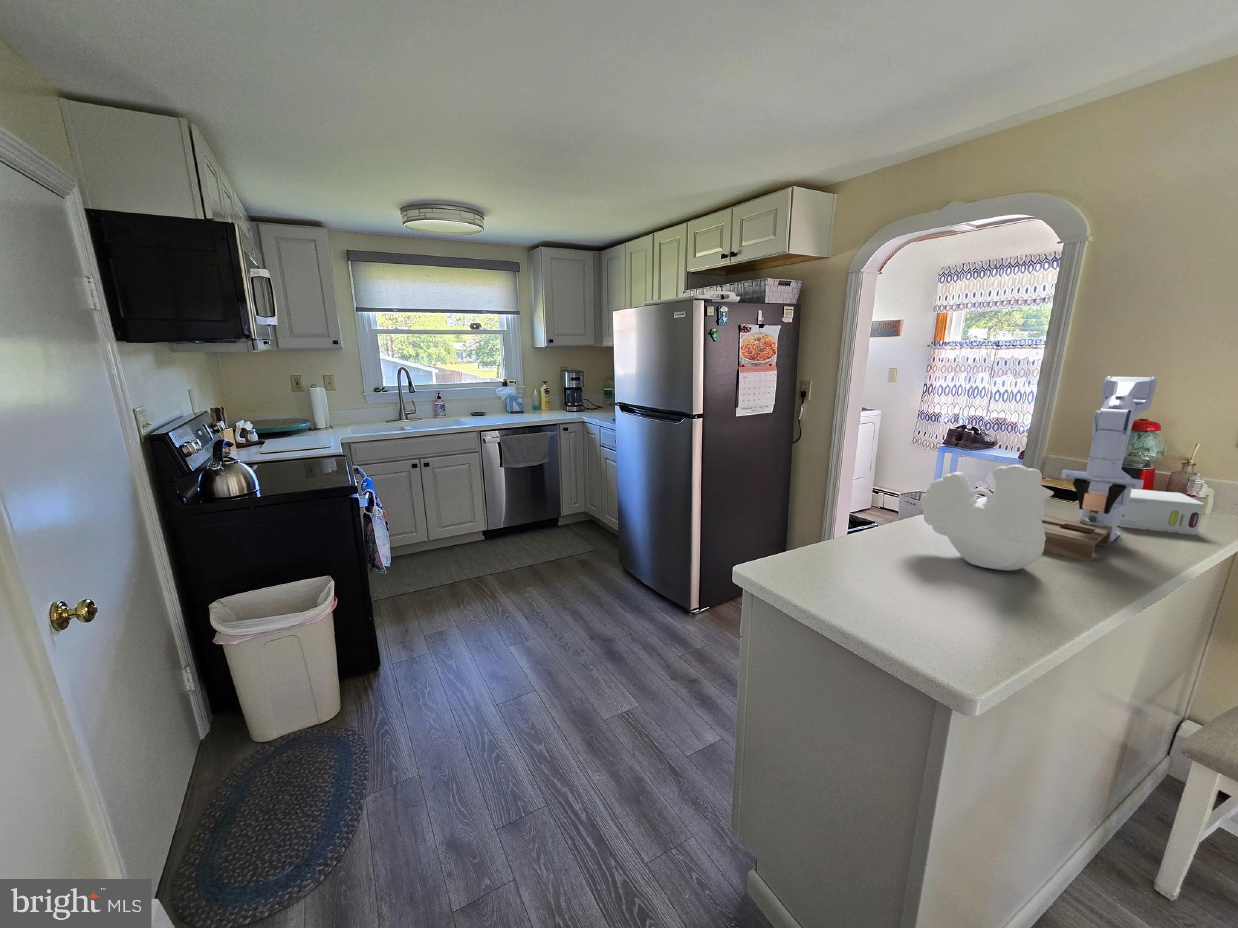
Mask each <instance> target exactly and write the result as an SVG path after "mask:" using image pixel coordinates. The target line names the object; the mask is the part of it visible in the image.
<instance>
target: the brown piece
mask: <svg viewBox="0 0 1238 928" xmlns="http://www.w3.org/2000/svg"><path fill="white" fill-rule="evenodd" d="M1107 499H1108V493H1102V492H1096V491H1088V492H1086V493H1085V496H1084V501H1083V506H1082V508H1083V509H1088V510H1090V512H1089V517H1088V518H1086V517H1083V518H1081V517H1080V519H1079V520H1080V523H1082V524H1084V525H1088V526H1094V527H1103V526H1104V521H1102V520H1099V519H1097V517H1098V512H1104V511H1105V506H1106V503H1107Z"/></svg>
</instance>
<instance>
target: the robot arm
mask: <svg viewBox="0 0 1238 928" xmlns="http://www.w3.org/2000/svg"><path fill="white" fill-rule="evenodd" d="M1157 381H1158V378H1156V377H1155V376H1150V377H1149V376H1146V377H1145V376H1112V375H1108V376H1107V377H1105V379H1104V381H1103V385H1102V389H1101V405H1102V406H1101V408H1100V410H1098V409H1097V410H1095V412H1094V415H1093V418H1092V423H1091V424H1092V426H1091V427H1092V428H1091V429H1092V433H1091V439H1092V440H1091V446H1090V450H1089V455H1088V461H1087V466H1086V469H1085V470H1086V471H1081V470H1080V471H1079V470H1072V469H1063V470H1062V471H1061V477H1060V478H1061V479H1071V480H1073V482H1072V485H1073V488H1074V490H1075V493H1076V495H1077V498H1078V508H1079V509H1078V510H1081V515H1080V519H1081V518H1083V517H1086V518H1088V517H1089V512H1090V510H1088V509H1083V508H1082V506H1083V501H1084V496H1085V493H1086V492H1088V491H1096V492H1102V493H1108V499H1107V503H1106V506H1105V511H1104V512H1098V517H1097V519H1099V520H1102V521H1104V525H1106V526H1111V527H1113V528H1112V533H1111V537H1110V542H1114V540H1115V539H1117V538H1118V537H1119V536H1120V535H1121V533H1120V532H1118V531H1117V527H1118V526H1117V523H1118V518H1119V511H1120V507H1121V506H1125V505H1128V502H1129V499H1130V495H1131V490H1132V489H1141V490H1143V486H1144V479H1143V480H1142V479H1137V478H1132V477H1131V476H1130V475H1129V474H1128V473H1126V472H1125V471H1124V470H1123V469H1122V467H1123V463H1124V459H1125V455H1126V450H1127V447H1128V443H1129V439H1130V435H1131V432H1132V427H1133V424H1134V421H1135V420H1136V418H1137V417H1138V415H1139V414H1141V413H1144V412H1148V411H1149V409H1150V407H1151V406H1152V402H1153V398H1154V395H1155V392H1156V388H1157V383H1158V382H1157Z"/></svg>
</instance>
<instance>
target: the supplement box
mask: <svg viewBox="0 0 1238 928" xmlns="http://www.w3.org/2000/svg"><path fill="white" fill-rule="evenodd" d="M1204 507H1205V503H1203V502H1202V501H1199V500H1197V499H1194V498H1193V497H1191V496H1188V495H1187V494H1184V493H1181V492H1172V491H1171V492H1170V491H1162V490H1151V489H1149V490H1148V489H1135V488H1132V490H1131V495H1130V499H1129V502H1128V505H1125V506H1121V507H1120V511H1119V518H1118V523H1117V527H1119V526H1120V527H1121V528H1128V529H1129V528H1130V529H1137V528H1138V529H1139V530H1146V529H1149V531H1155V530H1156V531H1158V532H1164V531H1168V532H1167V533H1173V532H1178V533H1177V534H1185V535H1193V536H1197V534H1198V530H1199V527H1200V523H1201V519H1202V514H1203V511H1204Z"/></svg>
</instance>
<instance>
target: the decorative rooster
mask: <svg viewBox="0 0 1238 928" xmlns="http://www.w3.org/2000/svg"><path fill="white" fill-rule="evenodd" d="M992 477H993V480H994V482H995V483H996V484H995V486H994V490H993V492H991V491H990V490H988V489H987V488H983V487H978V488H975V489H973V488H972V487H971V484H970V482H969V479H968V478H967V476H966V475H965V473H964V472H962V471H953V472H952V473H946V474H945V475H944V476H943V478H937V479H935V480H934V481H932V482H931V483H930V486H929V487H928V488H927V489H926V491H925V492H926V493H923V494H922V496H921V497H920V499H919V500H920V501H919V502H920V509H921V510H922V515H923V520H924V522H925V523H926V524H927V525H929V526H932V529H933V531H934V532H935V533H937V534H939V535H941V536H946V537H947V538H948V540H949V541H950V543H951V545H952V546H953V548H954V549H955V550H956V551H957V553H958V554H959V555H960V556H961V557H962V558H963V559H964V560H965V562H967V563H969V564H970V565H973V566H977V567H980V568H981V567H982V568H986V569H993V570H1001V571H1017V570H1020V569H1023V568H1026V567H1028V566H1030V565H1032V564H1034V563H1035V562H1037V561H1038V560H1039V559H1040V558H1041V556H1042V555H1043V552H1045V551H1044V546H1045V540H1046V537H1045V532H1044V529H1043V525H1042V520H1043V518H1044V514H1045V507H1046V500H1048V499H1050V497H1052V496H1053V495H1054V494H1055V492H1054V491H1052V490H1050V489H1048V488H1046V487H1045V486H1043V485H1042V479H1043V474H1042V472H1041V471H1040V470H1038V469H1037V468H1028V467H1026V466H1024V465H1022V464H1010V465H1008V466H1003V465H999V466H996V468H994V470H993V471H992ZM980 494H981V495H984V496H985V498H986V501H984V502H981V501H978V500H977V495H980Z"/></svg>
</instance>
